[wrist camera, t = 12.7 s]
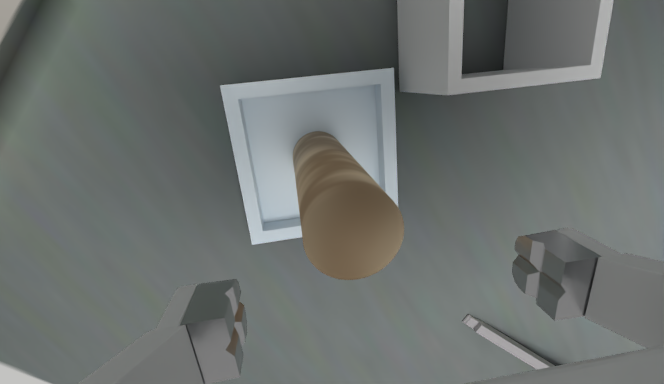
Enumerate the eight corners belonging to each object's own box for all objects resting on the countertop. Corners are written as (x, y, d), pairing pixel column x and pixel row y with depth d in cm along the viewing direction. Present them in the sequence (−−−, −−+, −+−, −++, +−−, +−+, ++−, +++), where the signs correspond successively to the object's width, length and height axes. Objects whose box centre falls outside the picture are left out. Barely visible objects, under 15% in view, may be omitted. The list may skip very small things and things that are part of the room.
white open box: (522, -60, 24) (635, -127, 16) (511, 79, 27) (600, 78, 19) (395, -52, 23) (452, -119, 15) (399, 91, 26) (447, 95, 18)
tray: (383, 69, 25) (393, 67, 23) (389, 211, 29) (398, 222, 27) (225, 85, 24) (219, 85, 22) (254, 231, 28) (252, 244, 26)
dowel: (340, 128, 25) (403, 179, 12) (344, 177, 27) (405, 271, 13) (289, 134, 25) (296, 194, 12) (296, 183, 26) (309, 287, 13)
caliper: (582, 372, 40) (633, 421, 35) (576, 378, 41) (626, 428, 35) (466, 311, 35) (504, 359, 29) (460, 319, 35) (496, 367, 29)
